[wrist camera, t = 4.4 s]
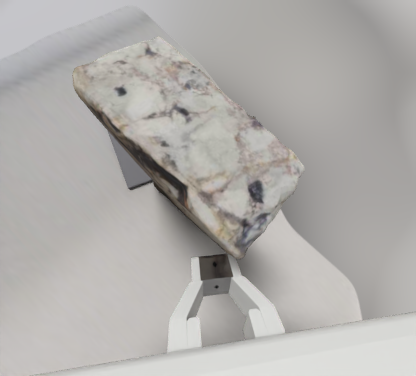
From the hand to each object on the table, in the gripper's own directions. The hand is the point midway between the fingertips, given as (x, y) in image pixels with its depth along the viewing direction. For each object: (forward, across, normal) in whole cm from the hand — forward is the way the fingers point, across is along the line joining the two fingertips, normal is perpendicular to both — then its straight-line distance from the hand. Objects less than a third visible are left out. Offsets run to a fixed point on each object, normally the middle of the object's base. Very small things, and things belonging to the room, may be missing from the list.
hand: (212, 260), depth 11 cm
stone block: (+16, +2, +5) cm, 17 cm away
